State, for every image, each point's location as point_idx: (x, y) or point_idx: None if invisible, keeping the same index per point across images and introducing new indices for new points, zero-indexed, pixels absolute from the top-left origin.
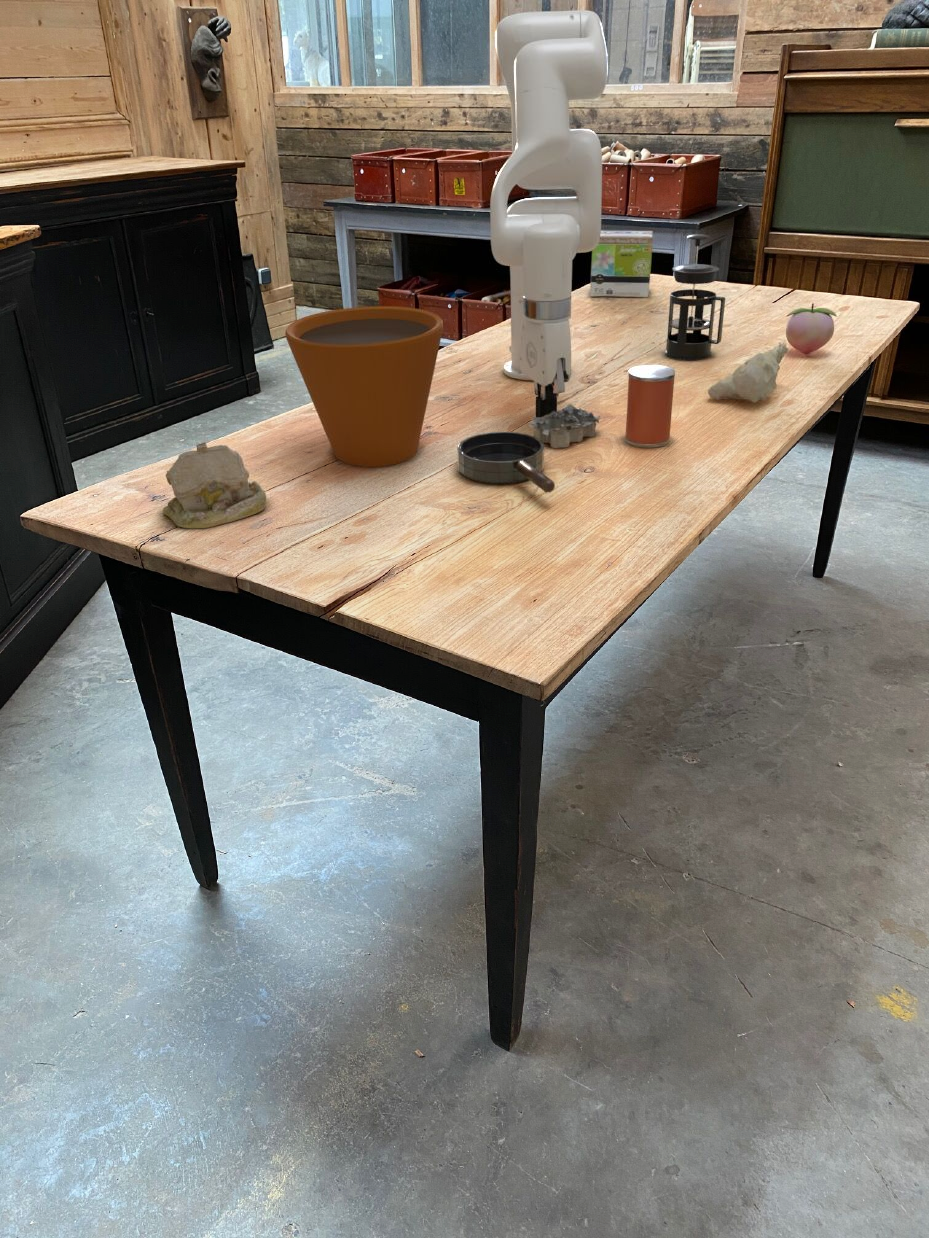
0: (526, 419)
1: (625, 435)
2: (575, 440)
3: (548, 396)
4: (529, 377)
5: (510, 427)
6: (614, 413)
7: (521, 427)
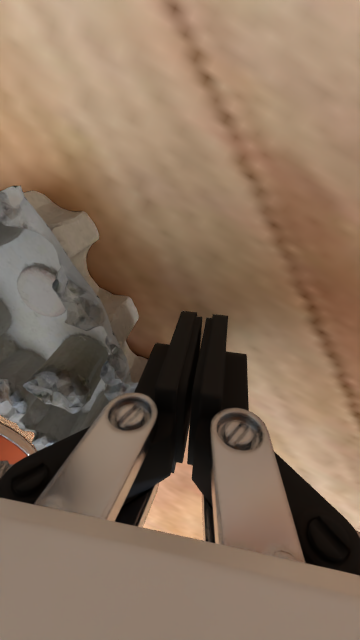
0: (344, 314)
1: (4, 436)
2: (8, 327)
3: (86, 430)
4: (206, 563)
5: (305, 187)
6: (198, 503)
7: (265, 239)
